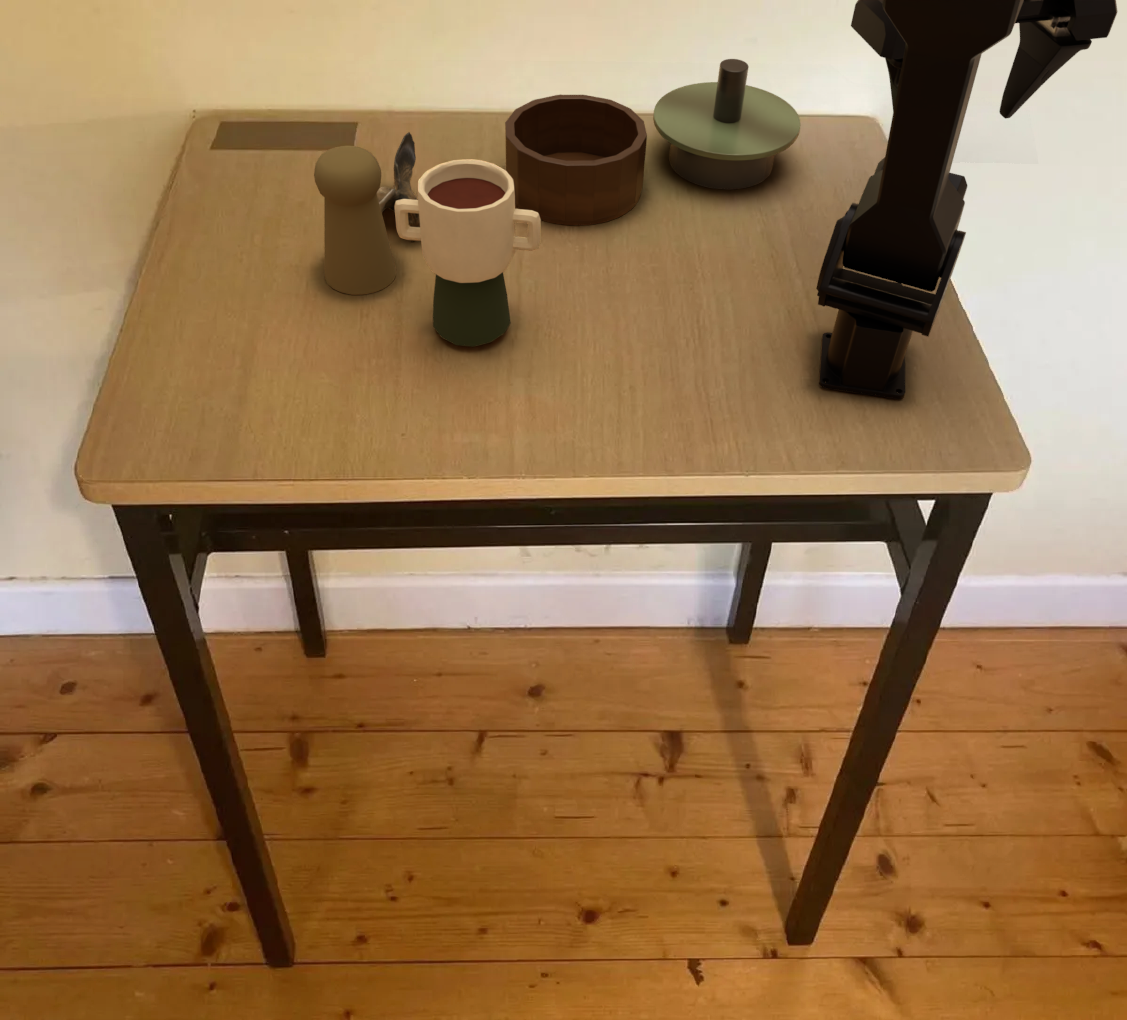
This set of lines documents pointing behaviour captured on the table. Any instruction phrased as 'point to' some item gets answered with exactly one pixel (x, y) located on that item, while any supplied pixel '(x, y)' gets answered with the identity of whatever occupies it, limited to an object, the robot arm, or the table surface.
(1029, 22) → the robot arm
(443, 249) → the character mug
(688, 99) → the lid
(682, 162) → the disc
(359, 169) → the brown pawn
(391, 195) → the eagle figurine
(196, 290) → the table surface
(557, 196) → the brown round pot
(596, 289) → the table surface
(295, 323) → the table surface
